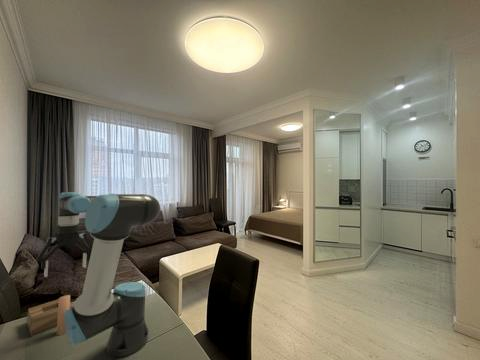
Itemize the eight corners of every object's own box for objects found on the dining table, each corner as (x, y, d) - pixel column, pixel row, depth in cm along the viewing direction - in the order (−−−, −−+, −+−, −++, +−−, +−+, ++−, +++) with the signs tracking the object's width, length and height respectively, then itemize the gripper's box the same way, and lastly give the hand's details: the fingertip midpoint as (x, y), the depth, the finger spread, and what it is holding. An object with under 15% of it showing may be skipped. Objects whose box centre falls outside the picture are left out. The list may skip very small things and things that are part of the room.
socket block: (72, 320, 96) (73, 305, 97) (31, 336, 85) (32, 319, 86) (65, 310, 105) (66, 296, 105) (27, 324, 94) (28, 308, 94)
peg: (69, 331, 89) (71, 296, 90) (57, 336, 85) (59, 300, 87) (67, 327, 91) (69, 294, 92) (55, 332, 88) (57, 297, 89)
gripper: (97, 221, 105) (95, 262, 103) (29, 227, 85) (25, 278, 83) (102, 222, 100) (100, 265, 98) (31, 229, 81) (27, 282, 79)
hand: (66, 271), depth 91 cm, fingers open, 13 cm apart
